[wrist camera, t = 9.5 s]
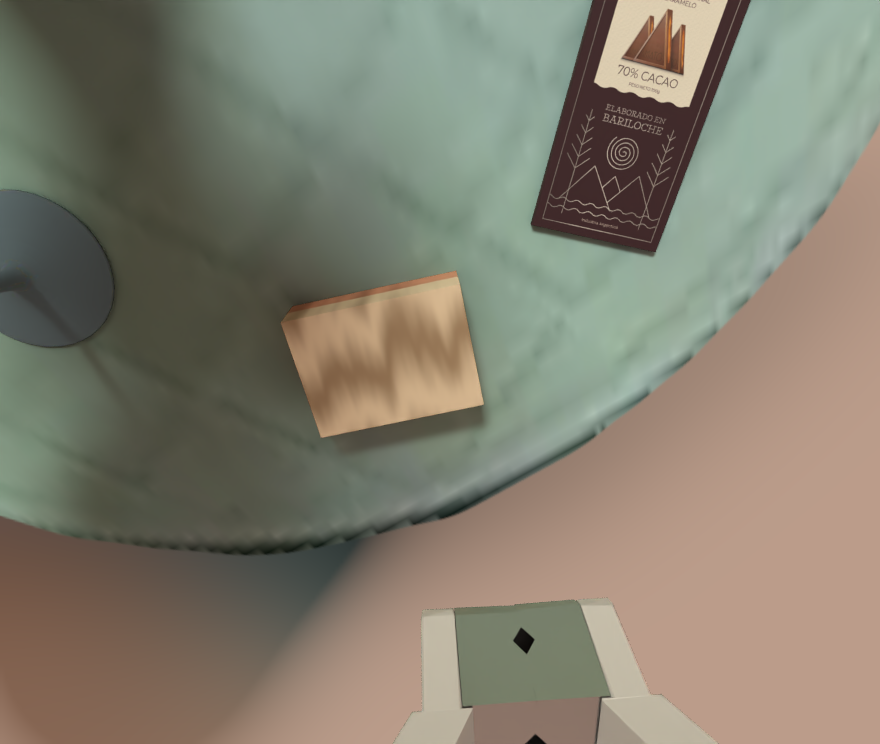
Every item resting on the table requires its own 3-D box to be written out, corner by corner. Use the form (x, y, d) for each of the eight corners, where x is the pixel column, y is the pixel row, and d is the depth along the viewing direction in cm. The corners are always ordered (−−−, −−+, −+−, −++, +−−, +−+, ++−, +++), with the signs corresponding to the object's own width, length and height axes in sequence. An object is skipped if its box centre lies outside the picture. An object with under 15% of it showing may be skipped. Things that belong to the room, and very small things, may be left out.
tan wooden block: (455, 269, 38) (293, 304, 39) (459, 284, 34) (280, 322, 35) (477, 380, 42) (329, 411, 42) (483, 404, 38) (321, 437, 39)
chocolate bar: (532, 225, 36) (624, -107, 29) (529, 222, 37) (619, -101, 30) (655, 252, 37) (773, -61, 30) (649, 249, 38) (763, -56, 31)
